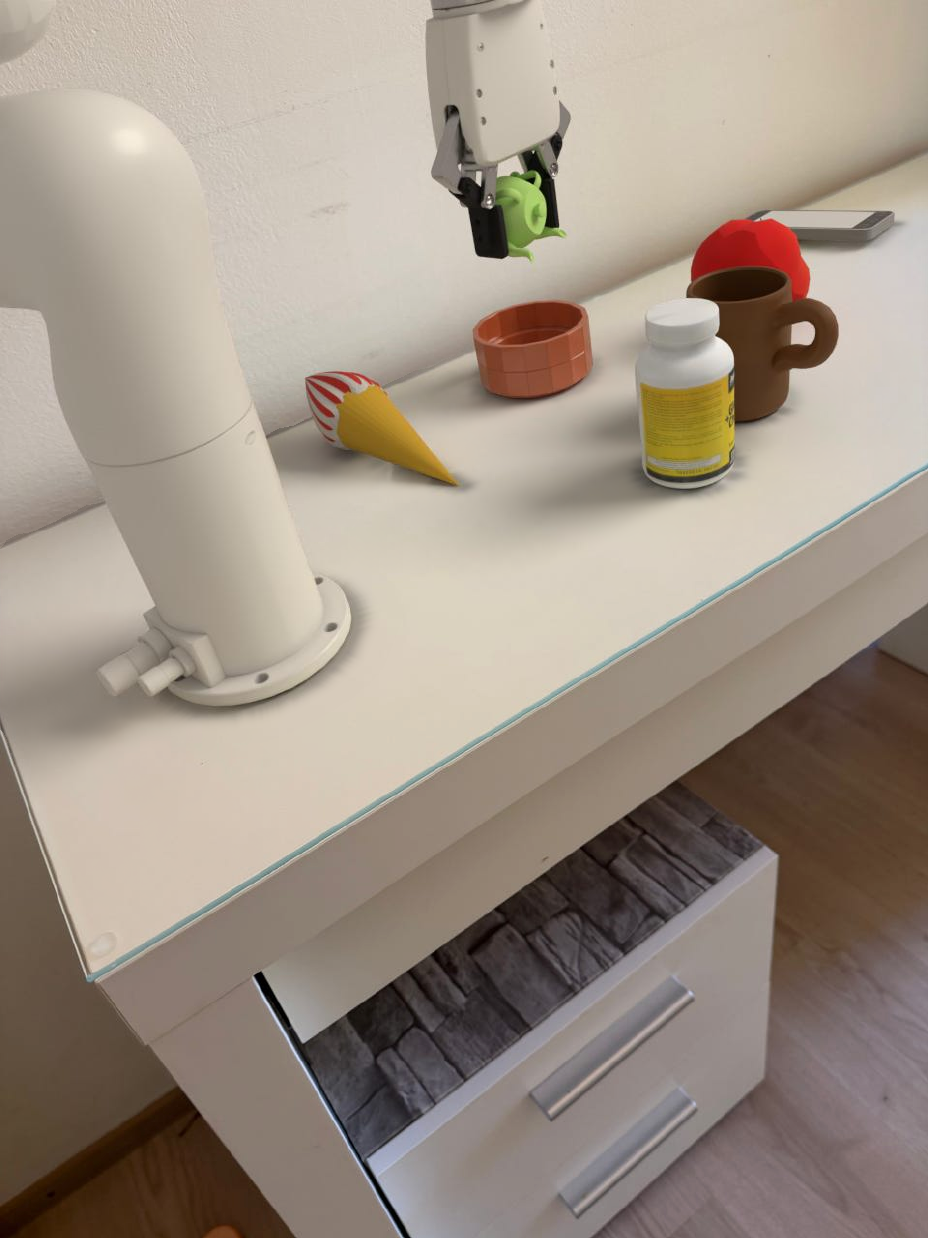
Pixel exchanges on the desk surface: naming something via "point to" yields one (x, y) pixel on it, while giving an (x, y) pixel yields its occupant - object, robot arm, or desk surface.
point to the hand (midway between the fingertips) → (517, 240)
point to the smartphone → (830, 223)
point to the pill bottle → (685, 395)
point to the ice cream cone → (368, 422)
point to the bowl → (533, 348)
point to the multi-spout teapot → (523, 212)
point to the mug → (764, 333)
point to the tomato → (754, 251)
